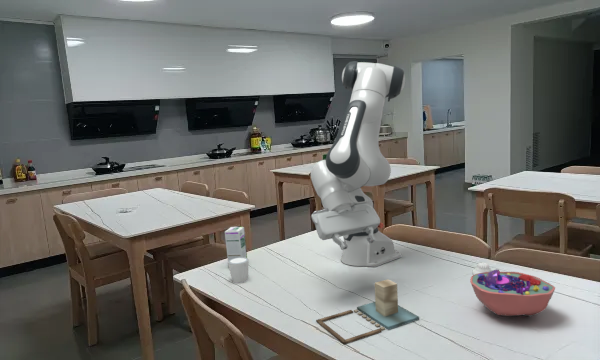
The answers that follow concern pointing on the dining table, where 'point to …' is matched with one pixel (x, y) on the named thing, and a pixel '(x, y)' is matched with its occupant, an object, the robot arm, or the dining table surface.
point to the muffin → (481, 268)
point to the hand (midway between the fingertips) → (358, 245)
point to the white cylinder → (238, 269)
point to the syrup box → (235, 243)
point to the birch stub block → (386, 297)
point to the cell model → (512, 292)
